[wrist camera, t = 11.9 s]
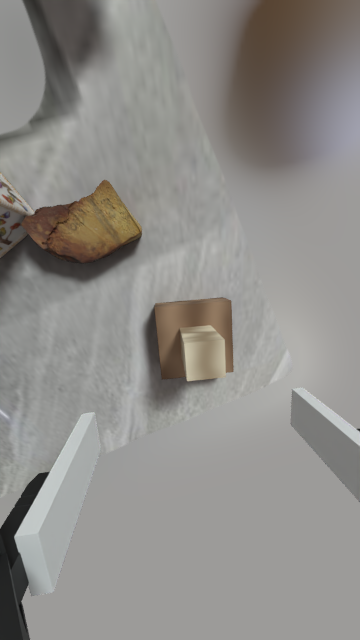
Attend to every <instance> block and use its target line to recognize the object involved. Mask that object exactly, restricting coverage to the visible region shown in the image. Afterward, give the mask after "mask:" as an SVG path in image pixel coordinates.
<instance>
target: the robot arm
mask: <svg viewBox="0 0 360 640" xmlns="http://www.w3.org/2000/svg"><path fill="white" fill-rule="evenodd" d="M291 404H292V405H291V425H292V427H294V429H295V430H296V431H297V432H298V433H299V434H300V436H301V437H302V438H303V439H304V440H305V441H306V442H307V443H308V445H309V446H310V447H311V448H312V449H313V450H314V451H315V452H316V454H317V455H318V456H319V457H320V458H321V459H322V460H323V461H324V463H325V464H326V465H327V466H328V467H329V468H330V469H331V470H332V471H333V473H334V474H335V475H336V476H337V477H338V478H339V480H340V481H341V482H342V483H343V484H344V485H345V486H346V487H347V489H348V490H349V491H350V492H351V493H352V494H353V495H354V496H355V498H356V499H357V500H358V501H359V502H360V429H355V428H354V427H353V426H351V425H350V424H349V423H348V422H346V421H345V420H344V419H342V418H341V417H340V416H339V415H337V414H336V413H335V412H333V411H332V410H331V409H329V408H328V407H327V406H326V405H324V404H323V403H322V402H320V401H319V400H318V399H317V398H315V397H314V396H313V395H312V394H310V393H309V392H308V391H306V390H305V389H304V388H295V389H292V403H291ZM100 451H101V447H100V441H99V435H98V429H97V423H96V417H95V412H92V413H84V414H82V415H81V417H80V419H79V420H78V422H77V424H76V426H75V428H74V430H73V431H72V433H71V435H70V437H69V439H68V440H67V442H66V444H65V446H64V448H63V449H62V451H61V453H60V455H59V457H58V458H57V460H56V462H55V464H54V466H53V468H52V469H51V471H50V472H45V473H39V474H38V475H37V476H36V477H35V478H34V479H33V480H32V481H31V482H30V483H29V484H28V485H27V487H26V488H25V490H24V492H23V493H22V495H21V498H19V500H18V501H17V503H16V504H15V507H14V508H13V509H12V511H11V512H10V514H9V516H8V517H7V519H6V520H5V522H4V524H3V525H2V527H1V529H0V640H30V638H29V633H28V629H27V624H26V619H25V614H24V610H23V605H22V602H21V601H22V598H23V596H24V593H25V591H26V588H27V586H29V589H30V593H31V596H34V595H40V594H46V593H51V592H54V590H55V586H56V584H57V580H58V578H59V575H60V572H61V569H62V566H63V562H64V559H65V556H66V553H67V550H68V547H69V544H70V541H71V538H72V535H73V532H74V529H75V526H76V523H77V520H78V517H79V514H80V511H81V508H82V505H83V502H84V499H85V496H86V493H87V490H88V487H89V484H90V481H91V478H92V475H93V472H94V469H95V466H96V463H97V460H98V457H99V454H100Z"/></svg>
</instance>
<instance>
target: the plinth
mask: <svg viewBox="0 0 360 640" xmlns="http://www.w3.org/2000/svg"><path fill="white" fill-rule="evenodd" d="M154 309H155V318H156V328H157V337H158V347H159V357H160V366H161V376H162V379H171V378H181V377H186V374H185V370H184V365H183V361H182V353H181V340H180V328H186V327H197V326H208V325H211V326H212V327H213V328H214V329H215V330H216V331H217V332H218V333H219V334H220V335H221V336H222V337H223V339H224V340H225V365H226V373H227V372H233V341H232V309H231V300H228V299H226V298H211V299H200V300H188V301H177V302H166V303H156V304H155V307H154Z"/></svg>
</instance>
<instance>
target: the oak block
mask: <svg viewBox="0 0 360 640" xmlns="http://www.w3.org/2000/svg"><path fill="white" fill-rule="evenodd" d="M180 340H181V353H182V361H183V365H184V370H185V374H186V379H187V381H195V380H204V379H214V378H223V377H226V365H225V340H224V339H223V337H222V336H221V335H220V334H219V333H218V332H217V331H216V330H215V329H214V328H213V327H212V326H211V325H208V326H197V327H186V328H180Z"/></svg>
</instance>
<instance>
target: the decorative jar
mask: <svg viewBox="0 0 360 640" xmlns="http://www.w3.org/2000/svg"><path fill="white" fill-rule="evenodd" d="M33 214H34V210H33V209H32V208H31V207H30V206H29V205H28V204H27V203H26V201H25V200H24V199H23V198H22V196H21V195H20V194H19V193H18V192H17V191H16V190H15V188H14V187H13V186H12V185H11V184H10V183H9V181H8V180H7V179H6V178H5V177H4V176H3V175H2V173H1V172H0V258H1V257H2V256H4V255H5V254H6V253H7V252H8V251H9V250H11V249H12V248H13V247H14V246H15V245H16V244H17V243H19V242H20V241H21V240H22V239H24V238H25V237H26V236H27V235H28V233H27V232H26V230H25V229H24V228H23V227H22V225H21V224H22V221H23V220H24V218H25V217H26V216H30V215H33Z"/></svg>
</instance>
